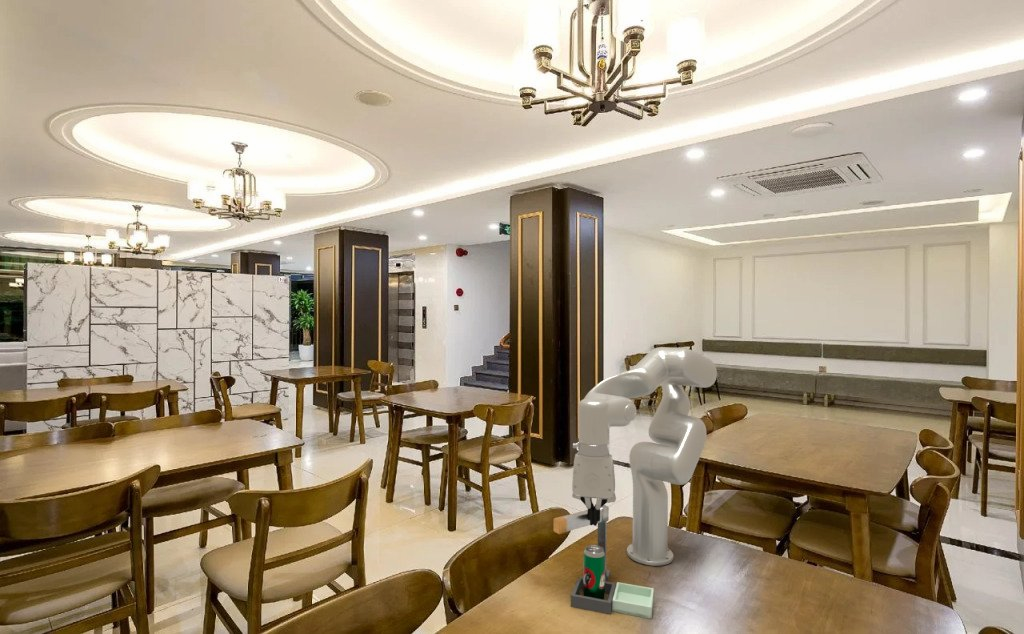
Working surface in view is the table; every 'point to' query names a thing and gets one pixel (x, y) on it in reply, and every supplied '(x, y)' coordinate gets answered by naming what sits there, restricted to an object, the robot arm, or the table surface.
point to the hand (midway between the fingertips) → (593, 523)
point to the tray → (633, 600)
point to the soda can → (594, 572)
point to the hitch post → (603, 542)
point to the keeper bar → (577, 520)
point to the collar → (591, 602)
